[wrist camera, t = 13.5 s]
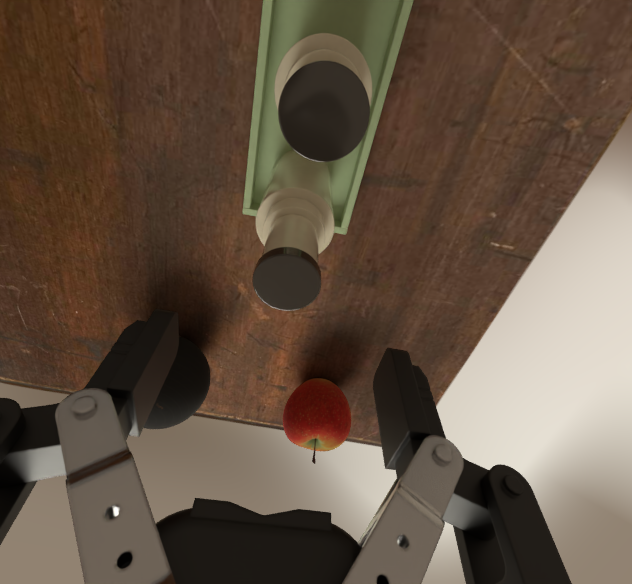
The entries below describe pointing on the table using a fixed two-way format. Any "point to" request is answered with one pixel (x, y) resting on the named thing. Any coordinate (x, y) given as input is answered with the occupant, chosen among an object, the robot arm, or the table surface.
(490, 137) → the table surface
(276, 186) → the bottle
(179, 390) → the black ball
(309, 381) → the apple
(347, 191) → the tray
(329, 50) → the bottle
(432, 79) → the table surface
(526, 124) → the table surface
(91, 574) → the robot arm
